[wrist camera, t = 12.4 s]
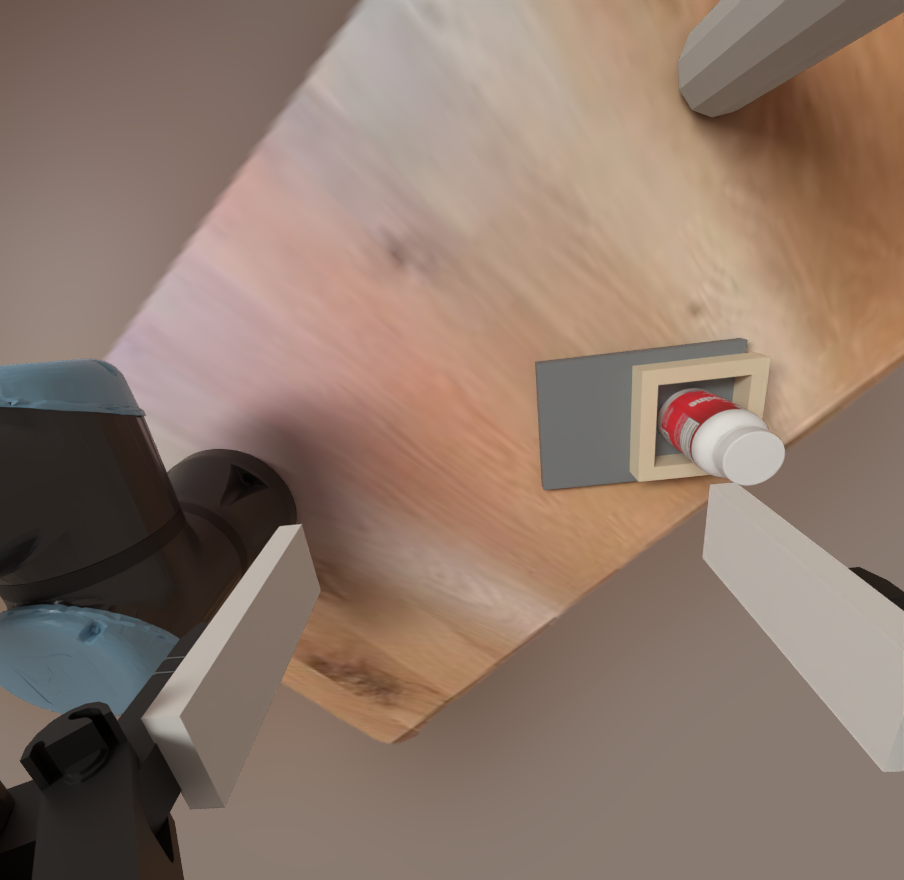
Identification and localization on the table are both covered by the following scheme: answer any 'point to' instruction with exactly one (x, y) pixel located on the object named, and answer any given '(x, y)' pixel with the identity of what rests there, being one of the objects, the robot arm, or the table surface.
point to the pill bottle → (720, 436)
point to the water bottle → (768, 46)
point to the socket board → (633, 409)
